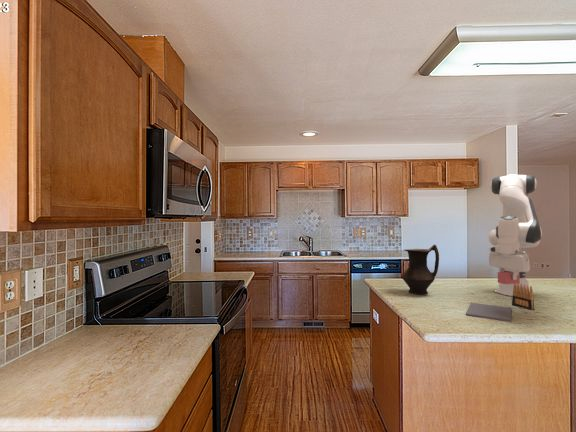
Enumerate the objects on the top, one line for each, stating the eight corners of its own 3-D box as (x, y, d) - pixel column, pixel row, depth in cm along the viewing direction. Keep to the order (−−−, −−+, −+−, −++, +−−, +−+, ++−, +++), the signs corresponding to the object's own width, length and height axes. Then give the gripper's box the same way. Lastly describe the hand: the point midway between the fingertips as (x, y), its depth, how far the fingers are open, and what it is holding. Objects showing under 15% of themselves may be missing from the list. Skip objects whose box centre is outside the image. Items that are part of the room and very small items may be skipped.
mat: (470, 303, 183) (470, 302, 183) (511, 309, 173) (511, 307, 173) (465, 315, 163) (465, 313, 163) (510, 321, 153) (510, 320, 153)
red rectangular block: (511, 281, 167) (511, 271, 167) (519, 283, 163) (519, 272, 163) (497, 282, 165) (497, 272, 165) (505, 284, 161) (505, 273, 161)
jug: (400, 295, 201) (400, 245, 201) (402, 289, 218) (402, 242, 218) (439, 299, 193) (439, 246, 193) (438, 292, 210) (438, 243, 210)
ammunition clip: (534, 310, 171) (534, 286, 171) (531, 310, 171) (531, 286, 171) (514, 304, 181) (514, 282, 181) (511, 304, 181) (511, 282, 181)
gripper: (533, 251, 155) (533, 282, 155) (497, 247, 175) (497, 274, 175) (522, 252, 153) (522, 283, 153) (486, 247, 173) (486, 275, 173)
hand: (508, 278), depth 164 cm, fingers closed on red rectangular block, 4 cm apart
